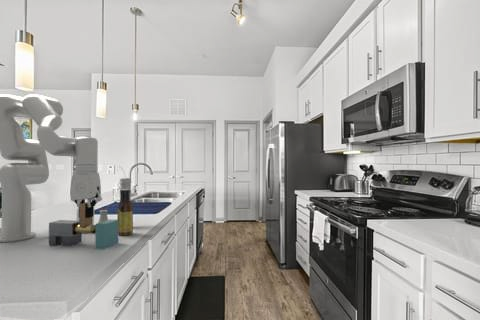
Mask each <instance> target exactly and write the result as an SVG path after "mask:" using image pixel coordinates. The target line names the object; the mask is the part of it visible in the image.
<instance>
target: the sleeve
mask: <svg viewBox="0 0 480 320" xmlns="http://www.w3.org/2000/svg"><path fill="white" fill-rule="evenodd" d="M73 224H79V221H77V220H71V219H70V220H69V219H67V220H66V219H65V220H64V219H60V220H59V219H58V220H55V221H50V222H49V223H48V247H49V246H51V247H54V246H55V247H56V246H59V245H62V247H72V246H75V245H77V244H80V243H83V241H82V239H83V236H82V235H83V233H73Z"/></svg>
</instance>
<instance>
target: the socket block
mask: <svg viewBox="0 0 480 320" xmlns="http://www.w3.org/2000/svg"><path fill="white" fill-rule="evenodd" d="M118 224H119V220H117V219H108V220H107V221H103V222H100V223H98V222H97V223H95V225H96V234H95V241H94V242H95V244H94V245H95V246H94V247H95V249H96V250H106V249H108V248H111V247H112V246H114V245H117V244H119V235H118Z"/></svg>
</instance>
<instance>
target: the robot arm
mask: <svg viewBox="0 0 480 320" xmlns="http://www.w3.org/2000/svg"><path fill="white" fill-rule="evenodd" d="M63 113H64V107H63V105H62V103H61V102H60V101H59V100H57V99H55V98H51V97H48V96H44V95H39V94H28V95H26V96H24V97H22V96H16V95H12V94H0V155H1V157H2V158H3V159H4V160H7V161H17V162H10V163H6V164H4V165H3V166H1V167H0V187H1V224H0V225H1V227H0V243H9V242H10V243H12V242H17V241H18V242H19V241H25V240H28V239H31V238H34V237H35V236H36V232H34V231H32V193H31V191H30V189H29V188H28V187H27V186H28V185H31V186H32V185H42V184H44V183H46V182H47V181H48V180H49V176H50V169H49V163H48V157H47V153H49V154H50V155H52V156H54V157H55V156H56V157H74V164H75V165H74V166H73V167H72V168H73V170H74V171H75V172H73V173H72V175H71V181H70V187H69V189H70V190H69V191H70V193H69V197H70V201H72V202H74V203H75V204H76V207H77V208H78V207H79V206H80V203H85V202H87V204H88V207H86V218H90V217H93V214H94V215H95V206H96V204H97V203H98V202H101V201H103V197H102V194H101V193H102V187H101V186H102V185H101V177H100V173H99V172H98V159H99V158H98V154H99V153H98V148H99V145H98V143H99V142H98V139H97V138H96V137H92V136H91V137H89V136H79V137H69V136H62V135H61V136H60V135H58V133H56V132H55V131H56V130H58V129H59V128H60V127H61V126H62V124H63V118H62V117H61V116H62V115H63ZM15 117H17V118H24V119H29V120H33V121H34V122H35V124H36V125H37V130H36V137H37V140H35V139H27V138H25V135H24V130H23V127H22V125H21V124H20V123H19V121H18V120H17V119H16V118H15ZM46 152H47V153H46ZM20 161H25V162H20ZM26 161H27V162H26Z"/></svg>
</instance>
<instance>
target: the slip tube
mask: <svg viewBox="0 0 480 320" xmlns="http://www.w3.org/2000/svg"><path fill="white" fill-rule="evenodd" d="M86 207H88V204H87V201H85V203H80V206H79V224H73V233H82V234H91V235H92V234H94V235H96V224H94V225H93V217H90V218H86Z"/></svg>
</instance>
